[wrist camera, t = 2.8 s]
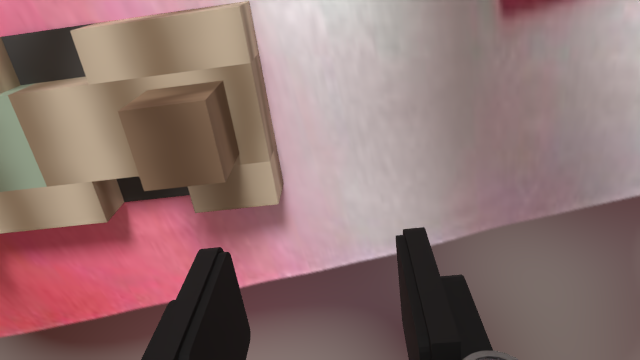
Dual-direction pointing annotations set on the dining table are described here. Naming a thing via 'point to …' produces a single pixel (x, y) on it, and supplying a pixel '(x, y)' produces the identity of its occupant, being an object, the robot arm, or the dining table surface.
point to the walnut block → (181, 135)
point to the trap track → (103, 119)
